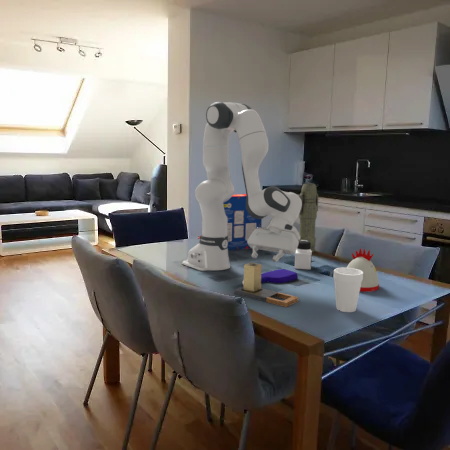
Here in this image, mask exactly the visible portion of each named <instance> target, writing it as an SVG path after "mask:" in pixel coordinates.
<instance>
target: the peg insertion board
mask: <svg viewBox="0 0 450 450" xmlns="http://www.w3.org/2000/svg"><path fill="white" fill-rule="evenodd" d="M234 295H239V296H243V297H246V298H251V299H254V300H258V301H262V302H265V303H269V304H272V305H277V306H281V307H284V308H287V307H289V306H291V305H294V304H296V303H297V302H299V297H298V296H294V295H291V294H286V293H282V292H279V291H275V290H270V289H266V288H262V287H261V291H259V292H257V293H250V292H246V291H244V285H243V286H239V287H238V288H235V289H234ZM277 298H280V299H277ZM281 299H283V300H281Z"/></svg>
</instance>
